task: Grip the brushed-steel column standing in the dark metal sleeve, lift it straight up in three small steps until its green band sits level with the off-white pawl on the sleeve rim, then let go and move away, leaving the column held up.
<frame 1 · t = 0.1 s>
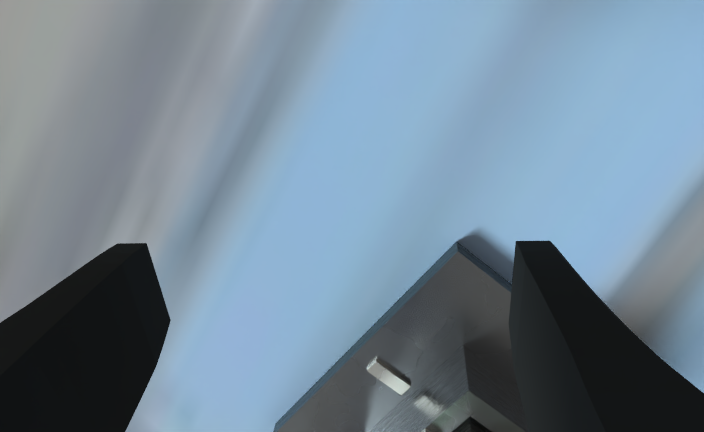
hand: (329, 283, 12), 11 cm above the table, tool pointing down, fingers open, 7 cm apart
stand base: (467, 418, 26), on the table
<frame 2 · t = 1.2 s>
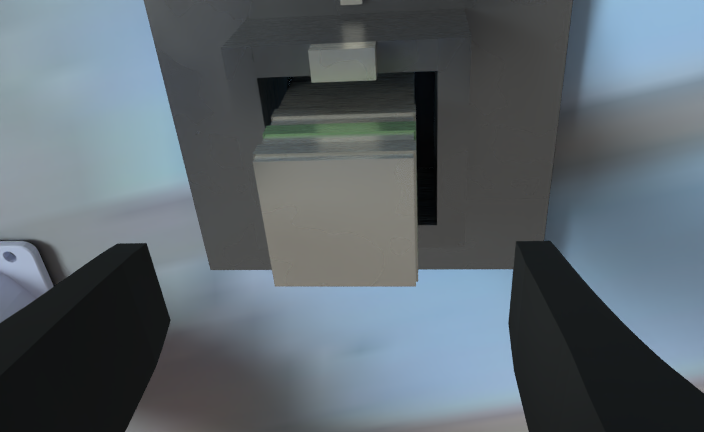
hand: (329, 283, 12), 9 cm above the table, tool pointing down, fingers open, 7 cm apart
stand base: (361, 105, 19), on the table
column: (352, 155, 17), point 4 cm above the table, slide at 0.0 cm
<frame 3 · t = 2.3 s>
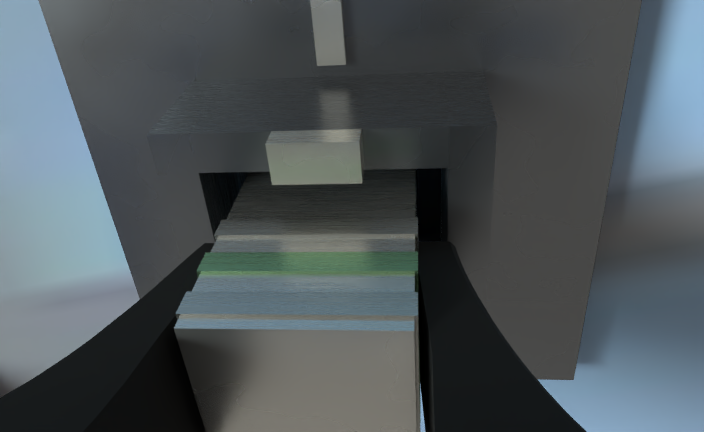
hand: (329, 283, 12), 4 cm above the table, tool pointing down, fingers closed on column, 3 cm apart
stand base: (348, 184, 15), on the table
column: (331, 270, 12), point 3 cm above the table, slide at 0.0 cm, touching gripper
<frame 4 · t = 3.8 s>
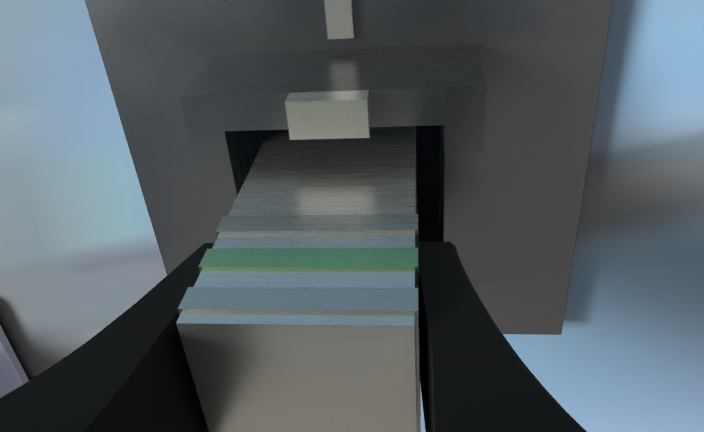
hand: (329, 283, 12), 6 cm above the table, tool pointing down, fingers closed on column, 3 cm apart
stand base: (354, 151, 17), on the table
column: (332, 267, 12), point 5 cm above the table, slide at 1.7 cm, touching gripper
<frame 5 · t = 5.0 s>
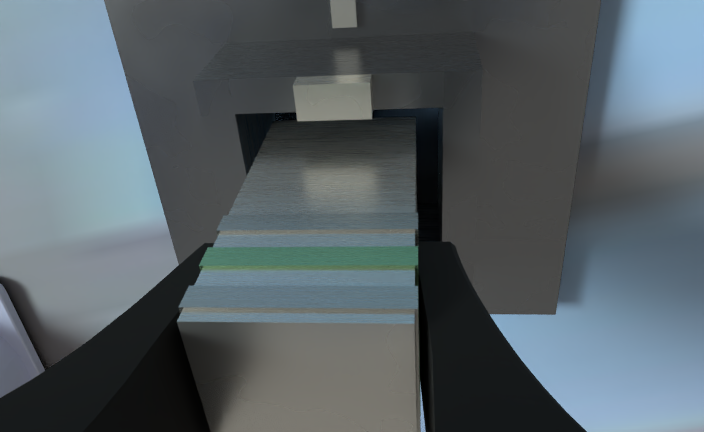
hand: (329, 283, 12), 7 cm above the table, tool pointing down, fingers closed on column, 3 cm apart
stand base: (357, 136, 17), on the table
column: (332, 266, 12), point 6 cm above the table, slide at 2.6 cm, touching gripper
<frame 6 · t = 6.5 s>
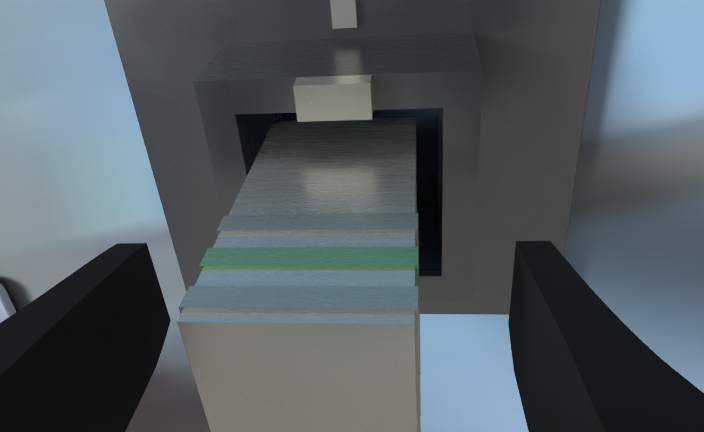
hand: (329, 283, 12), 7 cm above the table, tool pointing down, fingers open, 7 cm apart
stand base: (357, 137, 17), on the table
column: (332, 266, 12), point 6 cm above the table, slide at 2.6 cm
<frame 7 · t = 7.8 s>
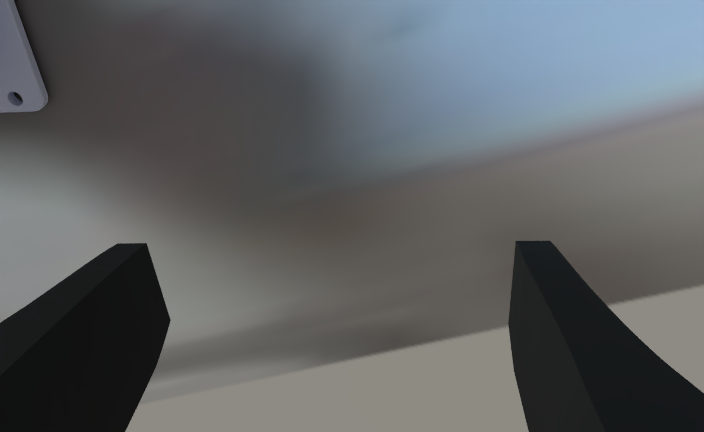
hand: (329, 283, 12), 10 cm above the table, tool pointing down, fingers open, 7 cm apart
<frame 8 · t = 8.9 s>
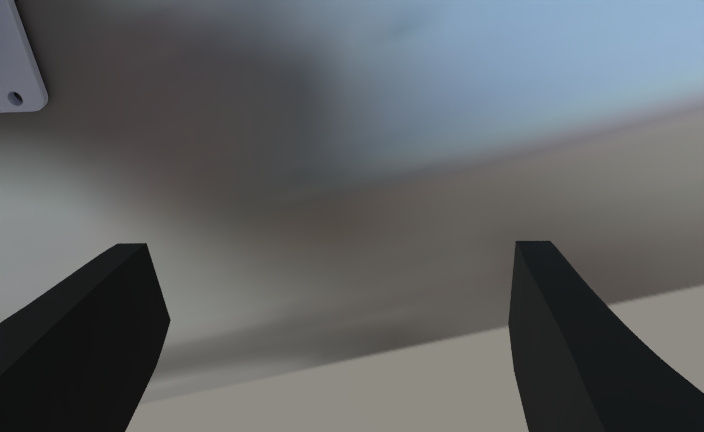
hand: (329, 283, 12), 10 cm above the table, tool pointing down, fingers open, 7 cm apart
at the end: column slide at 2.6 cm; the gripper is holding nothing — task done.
